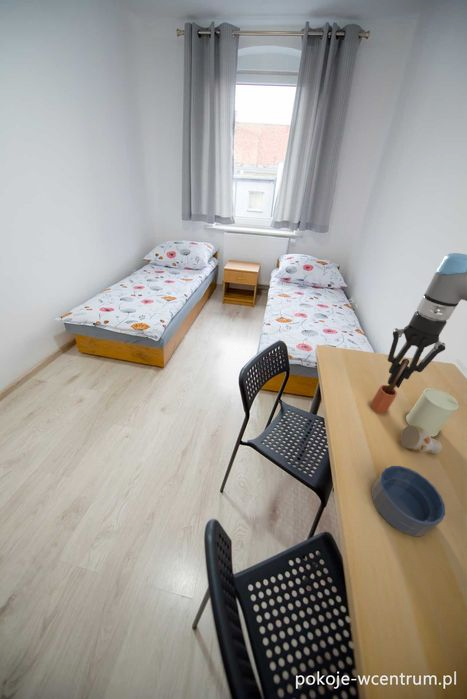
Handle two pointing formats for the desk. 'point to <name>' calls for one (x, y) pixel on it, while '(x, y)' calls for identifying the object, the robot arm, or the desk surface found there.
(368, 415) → the desk surface
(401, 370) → the stick
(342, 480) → the desk surface
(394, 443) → the desk surface
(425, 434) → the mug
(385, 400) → the holder
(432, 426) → the can
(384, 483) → the bowl
